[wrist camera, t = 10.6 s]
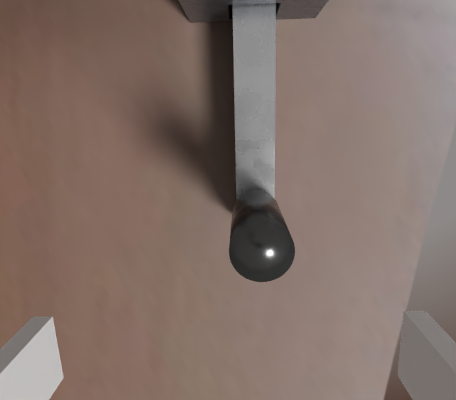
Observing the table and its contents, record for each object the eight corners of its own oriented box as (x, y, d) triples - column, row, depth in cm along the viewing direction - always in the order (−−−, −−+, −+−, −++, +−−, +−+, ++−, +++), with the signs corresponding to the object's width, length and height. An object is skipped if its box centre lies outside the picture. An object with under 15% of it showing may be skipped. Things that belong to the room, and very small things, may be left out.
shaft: (227, -57, 31) (217, -187, 18) (276, -59, 31) (304, -192, 18) (233, 223, 37) (230, 282, 24) (274, 222, 37) (294, 281, 24)
